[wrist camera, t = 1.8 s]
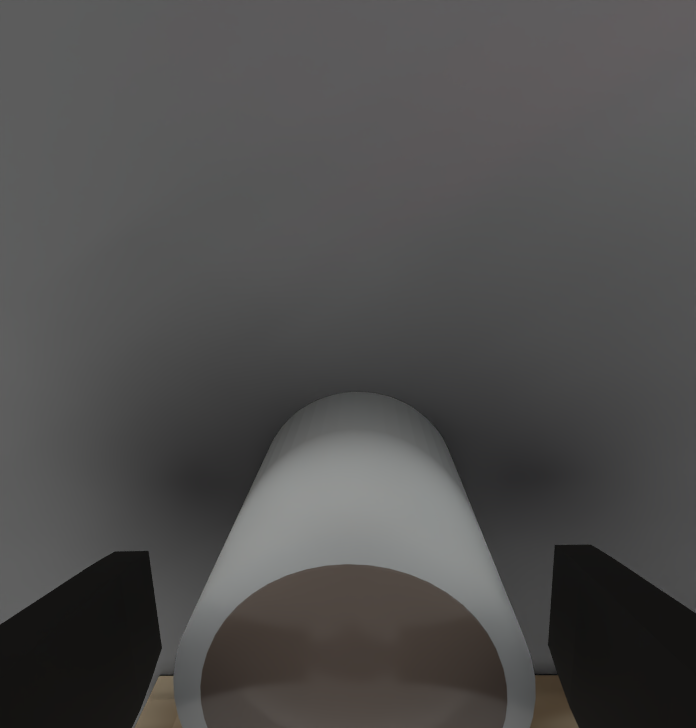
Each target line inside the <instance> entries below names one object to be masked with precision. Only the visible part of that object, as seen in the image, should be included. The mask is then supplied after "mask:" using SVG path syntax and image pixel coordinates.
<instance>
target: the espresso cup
mask: <svg viewBox="0 0 696 728" xmlns="http://www.w3.org/2000/svg"><path fill="white" fill-rule="evenodd" d="M173 683H174V699H175V703H176V708H177V713H178V717H179V720H180V723H181V725H182V728H530V725H531V722H532V719H533V713H534V706H535V699H536V691H535V674H534V669H533V663H532V658H531V655H530V652H529V649H528V647H527V644H526V641H525V638H524V636H523V633H522V631H521V628H520V626H519V623H518V621H517V618H516V616H515V613H514V611H513V608H512V606H511V603H510V601H509V599H508V596H507V594H506V591H505V589H504V586H503V584H502V581H501V579H500V576H499V574H498V571H497V569H496V566H495V564H494V561H493V559H492V556H491V554H490V551H489V549H488V546H487V544H486V542H485V539H484V537H483V534H482V532H481V529H480V527H479V524H478V522H477V519H476V517H475V514H474V512H473V509H472V507H471V504H470V502H469V499H468V497H467V494H466V492H465V490H464V487H463V485H462V482H461V480H460V477H459V475H458V472H457V470H456V467H455V465H454V462H453V460H452V457H451V455H450V452H449V450H448V447H447V446H446V444H445V442H444V440H443V438H442V436H441V435H440V433H439V432H438V431H437V429H436V428H435V427H434V425H433V424H432V423H431V422H430V421H429V420H428V419H427V418H426V417H425V416H423V415H422V414H421V413H420V412H418V411H417V410H416V409H414V408H413V407H411V406H409V405H408V404H406V403H404V402H402V401H399V400H397V399H395V398H392V397H389V396H385V395H382V394H377V393H371V392H345V393H339V394H334V395H330V396H327V397H324V398H321V399H319V400H316V401H314V402H312V403H310V404H308V405H307V406H305V407H304V408H302V409H301V410H299V411H298V412H296V413H295V414H294V415H293V416H292V417H291V418H290V419H289V420H287V422H286V423H285V424H284V425H283V426H282V428H281V429H280V430H279V431H278V433H277V435H276V436H275V438H274V439H273V441H272V444H271V446H270V448H269V450H268V452H267V454H266V456H265V459H264V461H263V463H262V465H261V467H260V469H259V471H258V474H257V476H256V478H255V480H254V482H253V484H252V486H251V489H250V491H249V493H248V495H247V497H246V499H245V502H244V504H243V506H242V508H241V510H240V512H239V514H238V517H237V519H236V521H235V523H234V525H233V527H232V529H231V532H230V534H229V536H228V538H227V540H226V542H225V544H224V547H223V549H222V551H221V553H220V555H219V557H218V559H217V562H216V564H215V566H214V568H213V570H212V572H211V575H210V577H209V579H208V581H207V583H206V585H205V587H204V590H203V592H202V594H201V596H200V598H199V600H198V602H197V605H196V607H195V609H194V611H193V613H192V615H191V617H190V620H189V622H188V624H187V626H186V629H185V631H184V633H183V635H182V638H181V640H180V643H179V647H178V651H177V655H176V658H175V667H174V677H173Z"/></svg>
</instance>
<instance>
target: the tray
mask: <svg viewBox="0 0 696 728" xmlns="http://www.w3.org/2000/svg"><path fill="white" fill-rule="evenodd" d="M173 677H174V676H159V677H158V679H157V682H156V684H155V686H154V688H153V690H152V692H151V694H150V696H149V698H148V701H147V703H146V705H145V707H144V709H143V711H142V713H141V715H140V717H139V720H138V722H137V724H136V726H135V728H182V725H181V723H180V720H179V717H178V713H177V708H176V703H175V699H174V683H173ZM535 691H536V699H535V706H534V713H533V719H532V722H531V725H530V728H579V727H578V725H577V723H576V720H575V718H574V716H573V714H572V712H571V709H570V707H569V704H568V702H567V699H566V696H565V693H564V690H563V688H562V685H561V682H560V679H559V676H558V675H535Z"/></svg>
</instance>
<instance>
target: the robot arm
mask: <svg viewBox="0 0 696 728" xmlns="http://www.w3.org/2000/svg"><path fill="white" fill-rule="evenodd" d="M548 646H549V649H550V652H551V655H552V658H553V661H554V664H555V667H556V670H557V673H558V676H559V679H560V682H561V685H562V688H563V690H564V693H565V696H566V699H567V702H568V704H569V707H570V709H571V712H572V714H573V716H574V718H575V720H576V723H577V725H578V727H579V728H696V613H694V612H693V611H691V610H690V609H688V608H687V607H685V606H684V605H682V604H681V603H679V602H678V601H676V600H675V599H673V598H672V597H670V596H669V595H667V594H666V593H664V592H663V591H661V590H660V589H658V588H657V587H655V586H654V585H652V584H651V583H649V582H648V581H646V580H645V579H643V578H642V577H640V576H639V575H637V574H636V573H634V572H633V571H631V570H630V569H628V568H627V567H625V566H624V565H622V564H621V563H619V562H618V561H616V560H615V559H613V558H612V557H610V556H609V555H607V554H605V553H604V552H602V551H600V550H599V549H597V548H595V547H594V546H592V545H555V551H554V566H553V581H552V595H551V610H550V625H549V640H548ZM161 649H162V646H161V639H160V631H159V624H158V617H157V610H156V603H155V596H154V588H153V581H152V574H151V567H150V560H149V552H148V551H122V552H113V553H112V554H110V555H108V556H106V557H104V558H103V559H101V560H99V561H98V562H96V563H94V564H93V565H91V566H90V567H88V568H86V569H85V570H83V571H82V572H80V573H79V574H77V575H76V576H74V577H72V578H71V579H69V580H68V581H66V582H65V583H63V584H62V585H60V586H59V587H57V588H56V589H54V590H53V591H51V592H50V593H48V594H47V595H45V596H43V597H42V598H40V599H39V600H37V601H36V602H34V603H33V604H31V605H30V606H28V607H27V608H25V609H24V610H22V611H20V612H19V613H17V614H16V615H14V616H13V617H11V618H10V619H8V620H7V621H5V622H4V623H2V624H1V625H0V728H132V726H133V724H134V722H135V720H136V718H137V715H138V713H139V711H140V709H141V706H142V704H143V701H144V698H145V695H146V693H147V690H148V687H149V684H150V682H151V679H152V676H153V673H154V670H155V667H156V664H157V661H158V658H159V655H160V652H161Z"/></svg>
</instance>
